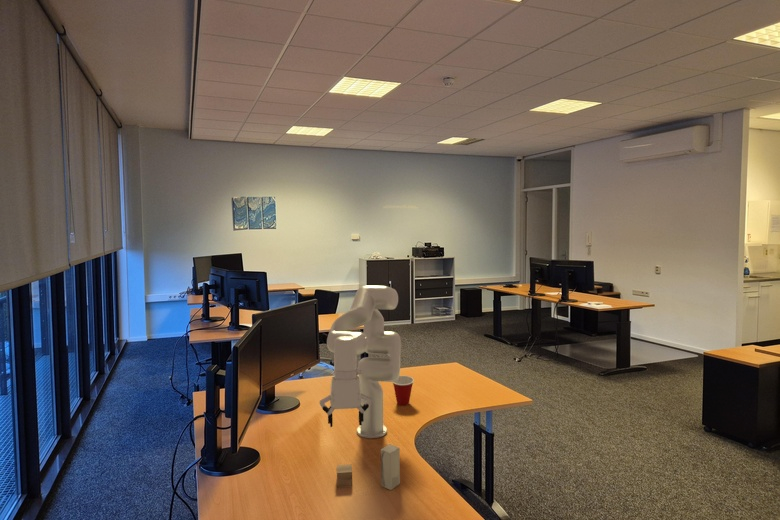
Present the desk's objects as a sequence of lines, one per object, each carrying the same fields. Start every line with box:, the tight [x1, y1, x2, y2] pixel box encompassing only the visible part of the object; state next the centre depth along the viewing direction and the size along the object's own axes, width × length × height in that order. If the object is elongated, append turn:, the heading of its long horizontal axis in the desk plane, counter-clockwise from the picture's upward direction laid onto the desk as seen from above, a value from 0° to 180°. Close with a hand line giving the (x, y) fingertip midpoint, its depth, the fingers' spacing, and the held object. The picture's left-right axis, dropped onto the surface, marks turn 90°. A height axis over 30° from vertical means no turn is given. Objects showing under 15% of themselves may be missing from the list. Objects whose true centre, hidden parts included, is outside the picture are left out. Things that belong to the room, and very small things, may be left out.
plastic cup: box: [392, 375, 415, 406], centre depth 228 cm, size 11×11×12 cm
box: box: [380, 443, 401, 491], centre depth 157 cm, size 5×4×13 cm
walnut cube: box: [336, 464, 353, 488], centre depth 159 cm, size 5×5×5 cm
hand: (345, 424), depth 158 cm, fingers open, 9 cm apart
